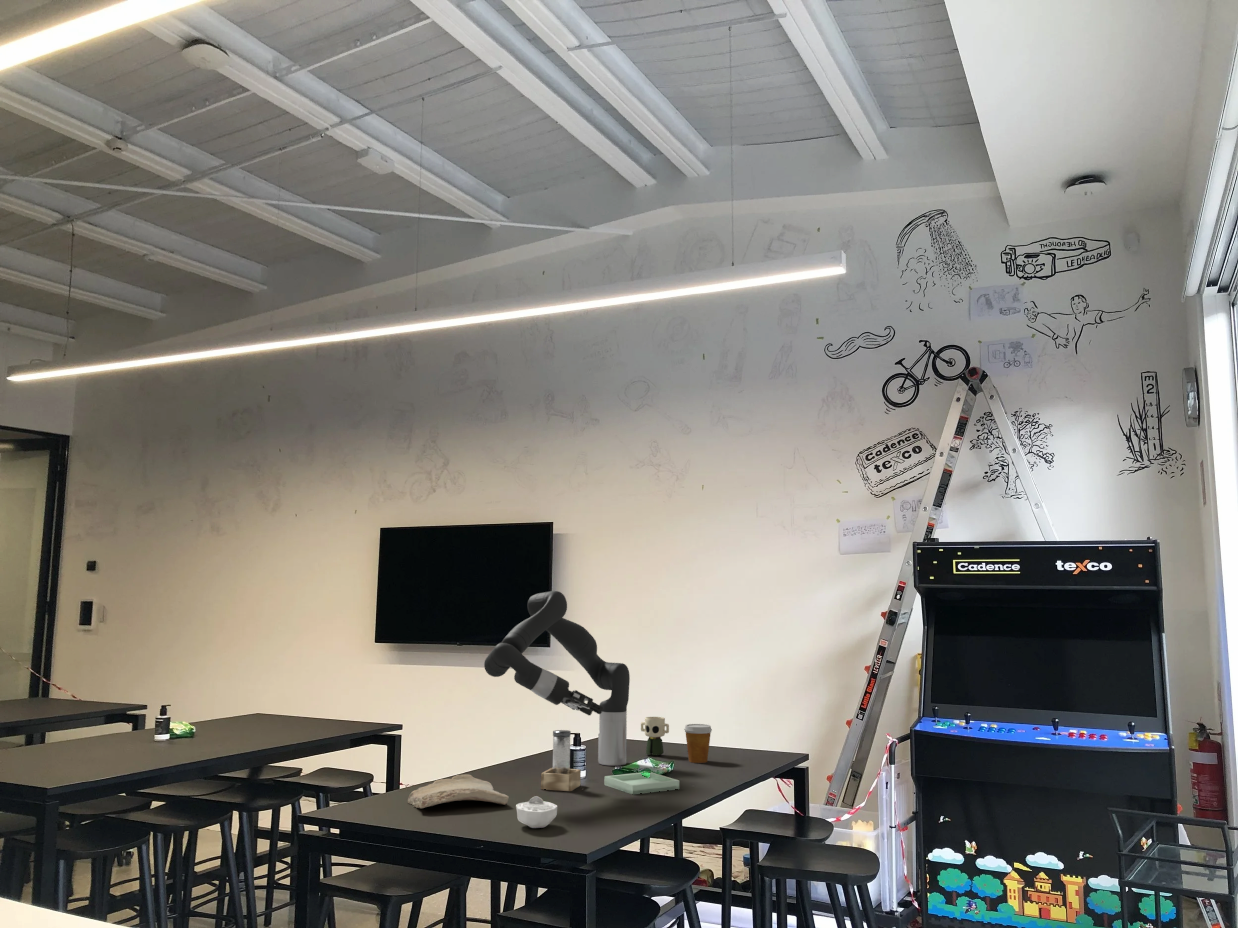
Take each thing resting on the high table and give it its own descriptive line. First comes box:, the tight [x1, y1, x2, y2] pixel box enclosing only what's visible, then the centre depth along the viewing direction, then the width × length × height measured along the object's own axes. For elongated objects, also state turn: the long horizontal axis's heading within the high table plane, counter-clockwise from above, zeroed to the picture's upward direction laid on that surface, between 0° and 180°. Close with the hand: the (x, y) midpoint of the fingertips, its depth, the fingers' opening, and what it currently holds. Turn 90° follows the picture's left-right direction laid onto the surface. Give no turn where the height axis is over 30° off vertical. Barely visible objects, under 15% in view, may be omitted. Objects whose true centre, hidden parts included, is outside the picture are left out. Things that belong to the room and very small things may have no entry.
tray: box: [604, 771, 680, 795], centre depth 286 cm, size 16×16×2 cm
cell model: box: [515, 795, 558, 829], centre depth 236 cm, size 10×12×7 cm
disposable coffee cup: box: [683, 723, 713, 764], centre depth 332 cm, size 10×10×12 cm
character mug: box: [640, 716, 670, 757], centre depth 345 cm, size 11×7×13 cm, turn 64°
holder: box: [540, 767, 582, 792], centre depth 285 cm, size 9×9×4 cm
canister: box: [552, 729, 572, 774], centre depth 286 cm, size 5×5×16 cm
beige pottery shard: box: [407, 774, 510, 809], centre depth 261 cm, size 24×8×20 cm
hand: (596, 711), depth 284 cm, fingers open, 8 cm apart
